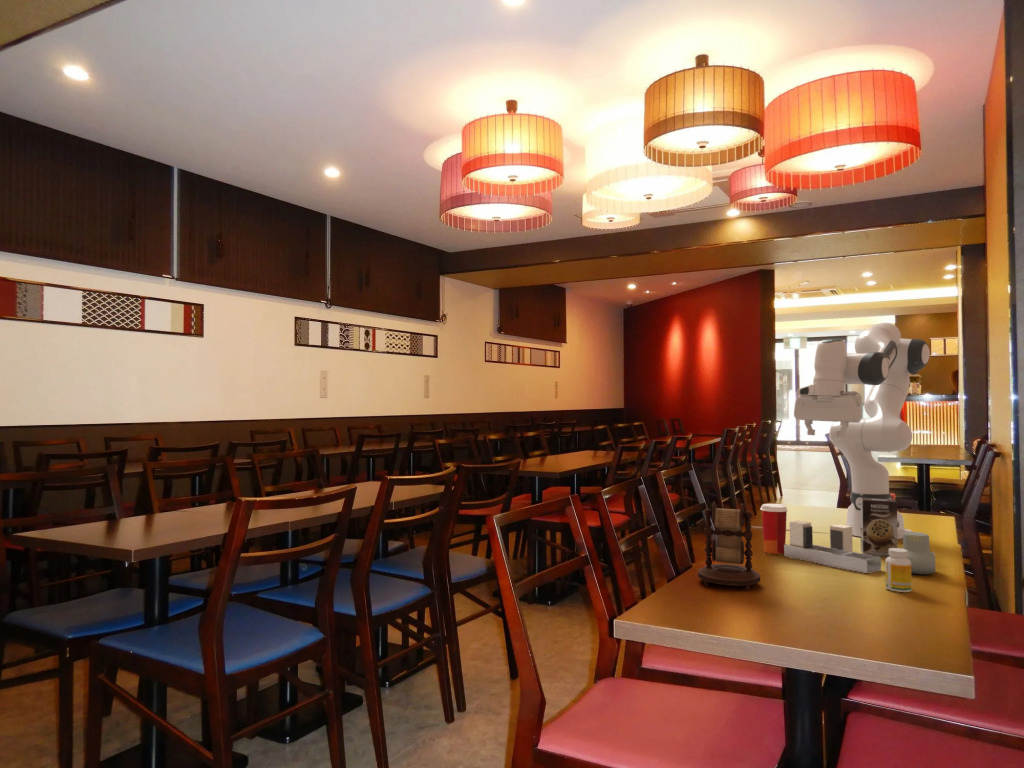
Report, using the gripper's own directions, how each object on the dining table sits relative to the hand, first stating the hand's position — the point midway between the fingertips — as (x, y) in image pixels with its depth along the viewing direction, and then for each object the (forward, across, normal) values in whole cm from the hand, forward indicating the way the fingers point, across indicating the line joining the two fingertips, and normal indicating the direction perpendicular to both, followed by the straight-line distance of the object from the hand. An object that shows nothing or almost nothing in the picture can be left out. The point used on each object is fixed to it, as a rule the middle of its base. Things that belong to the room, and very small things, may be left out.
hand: (825, 436), depth 204 cm
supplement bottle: (+36, -36, +23) cm, 56 cm away
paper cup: (+36, +6, +13) cm, 39 cm away
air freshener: (+34, -29, +2) cm, 45 cm away
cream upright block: (+35, -9, +2) cm, 36 cm away
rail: (+36, -11, +11) cm, 39 cm away
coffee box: (+33, -13, -10) cm, 37 cm away
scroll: (+40, -9, +51) cm, 66 cm away
